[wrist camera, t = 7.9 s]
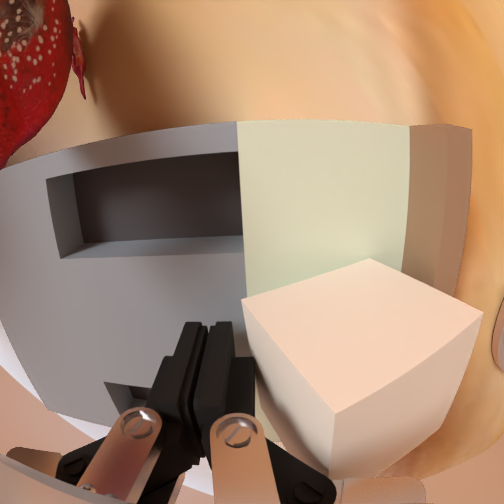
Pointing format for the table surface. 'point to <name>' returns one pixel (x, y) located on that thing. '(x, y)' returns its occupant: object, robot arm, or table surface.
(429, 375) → the cream block
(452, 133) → the board
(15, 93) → the decorative bird figurine
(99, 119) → the table surface
